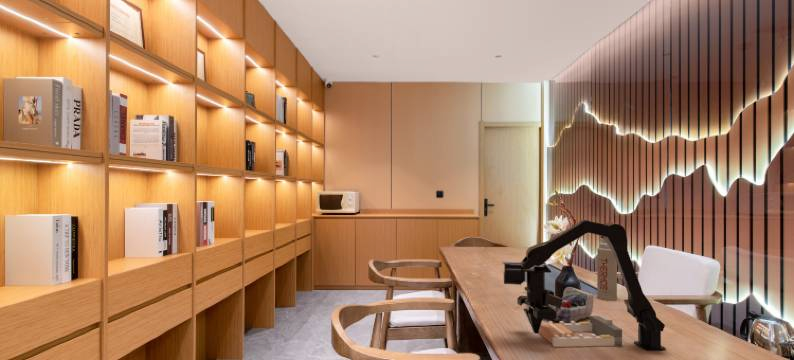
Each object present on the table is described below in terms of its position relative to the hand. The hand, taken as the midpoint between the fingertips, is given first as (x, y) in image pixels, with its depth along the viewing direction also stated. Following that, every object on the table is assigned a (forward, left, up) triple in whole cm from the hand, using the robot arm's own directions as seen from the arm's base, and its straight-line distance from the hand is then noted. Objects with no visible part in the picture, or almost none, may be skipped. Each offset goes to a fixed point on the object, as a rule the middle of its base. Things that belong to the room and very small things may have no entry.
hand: (535, 333), depth 143 cm
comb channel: (0, -14, -2) cm, 14 cm away
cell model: (+22, -21, -2) cm, 30 cm away
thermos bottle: (+50, -53, -2) cm, 73 cm away
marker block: (0, -7, -2) cm, 7 cm away
